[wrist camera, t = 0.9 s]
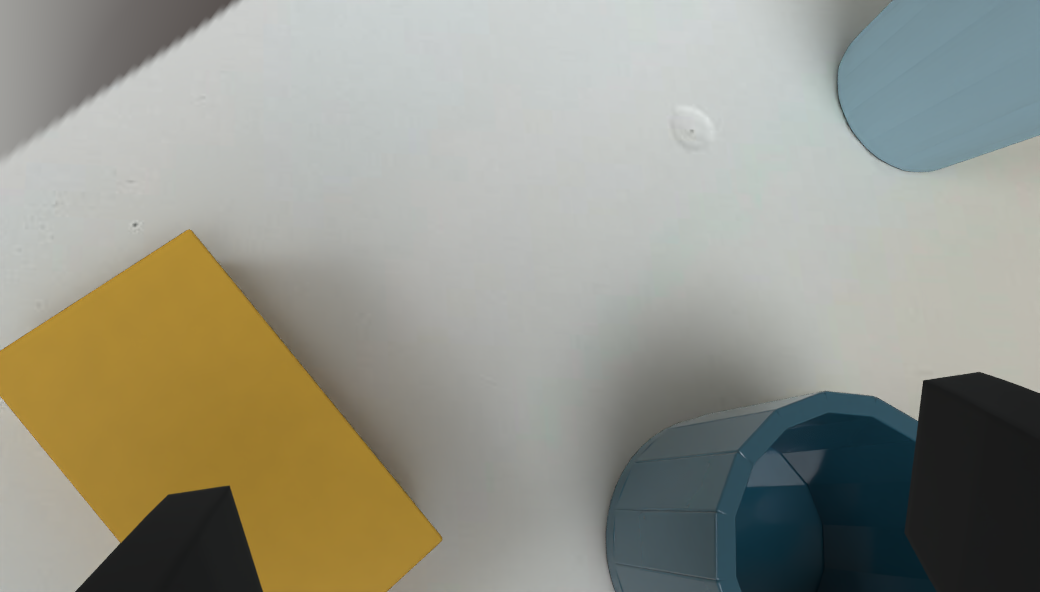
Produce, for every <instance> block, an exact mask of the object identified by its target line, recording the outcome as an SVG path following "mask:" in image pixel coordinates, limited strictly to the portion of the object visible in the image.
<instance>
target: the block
mask: <svg viewBox="0 0 1040 592" xmlns="http://www.w3.org/2000/svg"><path fill="white" fill-rule="evenodd" d="M0 396H1V398H2V399H3V400H4V401H5V403H6V404H7V405H8V406H9V407H10V409H11V410H12V411H13V412H14V414H15V415H16V416H17V417H18V418H19V420H20V421H21V422H22V423H23V425H24V426H25V427H26V428H27V429H28V431H29V432H30V433H31V434H32V436H33V437H34V438H35V439H36V440H37V442H38V443H39V444H40V445H41V447H42V448H43V449H44V450H45V451H46V453H47V454H48V455H49V456H50V458H51V459H52V460H53V461H54V462H55V464H56V465H57V466H58V467H59V469H60V470H61V471H62V472H63V473H64V475H65V476H66V477H67V478H68V480H69V481H70V482H71V483H72V484H73V486H74V487H75V488H76V489H77V491H78V492H79V493H80V494H81V495H82V497H83V498H84V499H85V500H86V501H87V503H88V504H89V505H90V506H91V508H92V509H93V510H94V511H95V512H96V514H97V515H98V516H99V517H100V519H101V520H102V521H103V522H104V523H105V525H106V526H107V527H108V528H109V530H110V531H111V532H112V533H113V534H114V536H115V537H116V538H117V539H118V541H119V542H120V543H121V542H122V541H123V540H124V539H125V538H126V537H127V536H128V535H129V534H130V533H131V532H132V531H133V530H134V529H135V527H136V526H137V525H138V524H139V523H140V522H141V521H142V520H143V519H144V518H145V517H146V516H147V515H148V514H149V513H150V512H151V511H152V510H153V509H154V508H155V507H156V506H157V505H158V504H159V503H160V502H161V501H162V500H163V499H164V498H165V497H166V496H167V495H168V494H175V493H182V492H188V491H195V490H201V489H208V488H215V487H221V486H228V485H230V488H231V491H232V494H233V498H234V501H235V504H236V507H237V510H238V514H239V517H240V520H241V523H242V526H243V529H244V533H245V536H246V539H247V542H248V545H249V548H250V552H251V555H252V558H253V561H254V564H255V568H256V571H257V574H258V577H259V580H260V583H261V587H262V590H263V592H387V591H388V590H389V589H390V588H391V587H392V586H394V585H395V584H396V583H397V582H398V581H399V580H400V579H401V578H402V577H403V576H404V575H405V574H406V573H408V572H409V571H410V570H411V569H412V568H413V567H414V566H415V565H416V564H417V563H418V562H419V561H421V560H422V559H423V558H424V557H425V556H426V555H427V554H428V553H429V552H430V551H431V550H432V549H434V548H435V547H436V546H437V545H438V544H439V543H440V542H441V541H442V536H441V535H440V534H439V533H438V532H437V530H436V529H435V528H434V527H433V525H432V524H431V523H430V522H429V521H428V519H427V518H426V517H425V516H424V514H423V513H422V512H421V511H420V510H419V508H418V507H417V506H416V505H415V503H414V502H413V501H412V500H411V498H410V497H409V496H408V495H407V494H406V492H405V491H404V490H403V489H402V487H401V486H400V485H399V484H398V483H397V481H396V480H395V479H394V478H393V476H392V475H391V474H390V473H389V472H388V470H387V469H386V468H385V467H384V465H383V464H382V463H381V462H380V461H379V459H378V458H377V457H376V456H375V454H374V453H373V452H372V451H371V449H370V448H369V447H368V446H367V445H366V443H365V442H364V441H363V440H362V438H361V437H360V436H359V435H358V434H357V432H356V431H355V430H354V429H353V427H352V426H351V425H350V424H349V423H348V421H347V420H346V419H345V418H344V416H343V415H342V414H341V413H340V412H339V410H338V409H337V408H336V407H335V405H334V404H333V403H332V402H331V400H330V399H329V398H328V397H327V396H326V394H325V393H324V392H323V391H322V389H321V388H320V387H319V386H318V385H317V383H316V382H315V381H314V380H313V378H312V377H311V376H310V375H309V374H308V372H307V371H306V370H305V369H304V367H303V366H302V365H301V364H300V363H299V361H298V360H297V359H296V358H295V356H294V355H293V354H292V353H291V351H290V350H289V349H288V348H287V347H286V345H285V344H284V343H283V342H282V340H281V339H280V338H279V337H278V336H277V334H276V333H275V332H274V331H273V329H272V328H271V327H270V326H269V325H268V323H267V322H266V321H265V320H264V318H263V317H262V316H261V315H260V314H259V312H258V311H257V310H256V309H255V307H254V306H253V305H252V304H251V302H250V301H249V300H248V299H247V298H246V296H245V295H244V294H243V293H242V291H241V290H240V289H239V288H238V287H237V285H236V284H235V283H234V282H233V280H232V279H231V278H230V277H229V276H228V274H227V273H226V272H225V271H224V269H223V268H222V267H221V266H220V265H219V263H218V262H217V261H216V260H215V258H214V257H213V256H212V255H211V253H210V252H209V251H208V250H207V249H206V247H205V246H204V245H203V244H202V242H201V241H200V240H199V239H198V238H197V236H196V235H195V234H194V233H193V231H192V230H190V229H189V230H187V231H185V232H183V233H182V234H180V235H179V236H177V237H176V238H174V239H173V240H171V241H169V242H168V243H166V244H165V245H163V246H162V247H160V248H159V249H157V250H156V251H154V252H152V253H151V254H149V255H148V256H146V257H145V258H143V259H142V260H140V261H139V262H137V263H135V264H134V265H132V266H131V267H129V268H128V269H126V270H125V271H123V272H121V273H120V274H118V275H117V276H115V277H114V278H112V279H111V280H109V281H108V282H106V283H104V284H103V285H101V286H100V287H98V288H97V289H95V290H94V291H92V292H91V293H89V294H87V295H86V296H84V297H83V298H81V299H80V300H78V301H77V302H75V303H73V304H72V305H70V306H69V307H67V308H66V309H64V310H63V311H61V312H60V313H58V314H56V315H55V316H53V317H52V318H50V319H49V320H47V321H46V322H44V323H43V324H41V325H39V326H38V327H36V328H35V329H33V330H32V331H30V332H29V333H27V334H25V335H24V336H22V337H21V338H19V339H18V340H16V341H15V342H13V343H12V344H10V345H8V346H7V347H5V348H4V349H2V350H1V351H0Z"/></svg>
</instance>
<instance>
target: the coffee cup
mask: <svg viewBox="0 0 1040 592" xmlns="http://www.w3.org/2000/svg"><path fill="white" fill-rule="evenodd" d="M917 427H918V421H917V420H915V419H914V418H912V417H910V416H908V415H907V414H905V413H903V412H901V411H900V410H898V409H896V408H895V407H893V406H891V405H889V404H888V403H886V402H884V401H882V400H881V399H879V398H877V397H874V396H869V395H859V394H850V393H840V392H831V391H823V392H816V393H811V394H806V395H801V396H796V397H791V398H786V399H781V400H776V401H771V402H766V403H761V404H756V405H751V406H746V407H740V408H735V409H730V410H725V411H720V412H715V413H710V414H706V415H703V416H700V417H698V418H695V419H690V420H687V421H683V422H680V423H677V424H675V425H672V426H670V427H668V428H666V429H664V430H663V431H661V432H659V433H658V434H656V435H655V436H653V437H652V438H651V439H650V440H649V441H647V442H646V443H645V444H644V445H643V446H642V447H641V448H640V449H639V450H638V451H637V453H636V454H635V455H634V456H633V457H632V458H631V460H630V461H629V463H628V464H627V466H626V468H625V469H624V471H623V472H622V475H621V477H620V479H619V481H618V483H617V485H616V487H615V490H614V493H613V496H612V499H611V503H610V508H609V513H608V518H607V529H606V552H607V559H608V566H609V572H610V575H611V579H612V582H613V586H614V589H615V591H616V592H937V591H936V589H935V588H934V586H933V584H932V583H931V581H930V579H929V577H928V575H927V574H926V572H925V570H924V568H923V566H922V564H921V562H920V561H919V559H918V557H917V555H916V553H915V551H914V550H913V548H912V546H911V544H910V542H909V540H908V538H907V537H906V535H905V533H904V532H905V524H906V516H907V508H908V500H909V492H910V484H911V476H912V468H913V460H914V452H915V443H916V435H917Z"/></svg>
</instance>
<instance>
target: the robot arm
mask: <svg viewBox="0 0 1040 592" xmlns="http://www.w3.org/2000/svg"><path fill="white" fill-rule="evenodd" d="M904 533H905V535H906V537H907V538H908V540H909V542H910V544H911V546H912V548H913V550H914V551H915V553H916V555H917V557H918V559H919V561H920V562H921V564H922V566H923V568H924V570H925V572H926V574H927V575H928V577H929V579H930V581H931V583H932V584H933V586H934V588H935V589H936V591H937V592H1040V393H1037V392H1035V391H1032V390H1029V389H1027V388H1024V387H1022V386H1019V385H1016V384H1013V383H1011V382H1008V381H1005V380H1002V379H999V378H996V377H993V376H990V375H987V374H984V373H981V372H977V373H970V374H963V375H957V376H950V377H943V378H937V379H930V380H924V381H923V387H922V395H921V403H920V411H919V419H918V427H917V435H916V443H915V452H914V460H913V468H912V476H911V484H910V492H909V500H908V508H907V516H906V524H905V532H904ZM75 592H263V590H262V587H261V583H260V580H259V577H258V574H257V571H256V568H255V564H254V561H253V558H252V555H251V552H250V548H249V545H248V542H247V539H246V536H245V533H244V529H243V526H242V523H241V520H240V517H239V514H238V510H237V507H236V504H235V501H234V498H233V494H232V491H231V488H230V485H228V486H221V487H215V488H208V489H201V490H195V491H188V492H182V493H175V494H168V495H167V496H166V497H165V498H164V499H163V500H162V501H161V502H160V503H159V504H158V505H157V506H156V507H155V508H154V509H153V510H152V511H151V512H150V513H149V514H148V515H147V516H146V517H145V518H144V519H143V520H142V521H141V522H140V523H139V524H138V525H137V526H136V527H135V529H134V530H133V531H132V532H131V533H130V534H129V535H128V536H127V537H126V538H125V539H124V540H123V541H122V542H121V543H120V544H119V546H118V547H117V548H116V549H115V550H114V551H113V552H112V553H111V554H110V555H109V556H108V557H107V558H106V559H105V561H104V562H103V563H102V564H101V565H100V566H99V567H98V568H97V569H96V570H95V571H94V572H93V573H92V574H91V576H90V577H89V578H88V579H87V580H86V581H85V582H84V583H83V584H82V585H81V586H80V587H79V588H78V589H77V590H76V591H75Z"/></svg>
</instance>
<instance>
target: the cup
mask: <svg viewBox="0 0 1040 592" xmlns="http://www.w3.org/2000/svg"><path fill="white" fill-rule="evenodd" d="M838 94H839V100H840V104H841V107H842V110H843V112H844V115H845V117H846V119H847V121H848V124H849V126H850V127H851V129H852V131H853V132H854V134H855V135H856V136H857V138H858V139H859V140H860V141H861V142H862V144H863V145H864V146H865V147H866V148H867V149H868V150H869V151H870V152H871V153H873V154H874V155H875V156H876V157H878V158H879V159H881V160H882V161H884V162H886V163H888V164H890V165H892V166H894V167H896V168H899V169H901V170H905V171H912V172H929V171H935V170H938V169H941V168H944V167H947V166H950V165H953V164H956V163H959V162H962V161H965V160H968V159H971V158H974V157H977V156H980V155H983V154H986V153H989V152H992V151H995V150H998V149H1001V148H1004V147H1007V146H1009V145H1012V144H1015V143H1018V142H1021V141H1024V140H1027V139H1030V138H1033V137H1036V136H1039V135H1040V0H893V1H892V2H891V3H890V4H889V5H888V6H887V7H886V8H885V9H884V10H883V11H882V12H881V13H880V14H879V15H878V16H877V17H876V18H875V19H874V20H873V21H872V22H871V23H870V24H869V25H868V26H867V27H866V28H865V29H864V30H863V31H862V32H861V33H860V34H859V35H858V36H857V37H856V38H855V39H854V40H853V42H852V43H851V44H850V45H849V47H848V49H847V50H846V52H845V54H844V56H843V58H842V60H841V63H840V66H839V70H838Z"/></svg>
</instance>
